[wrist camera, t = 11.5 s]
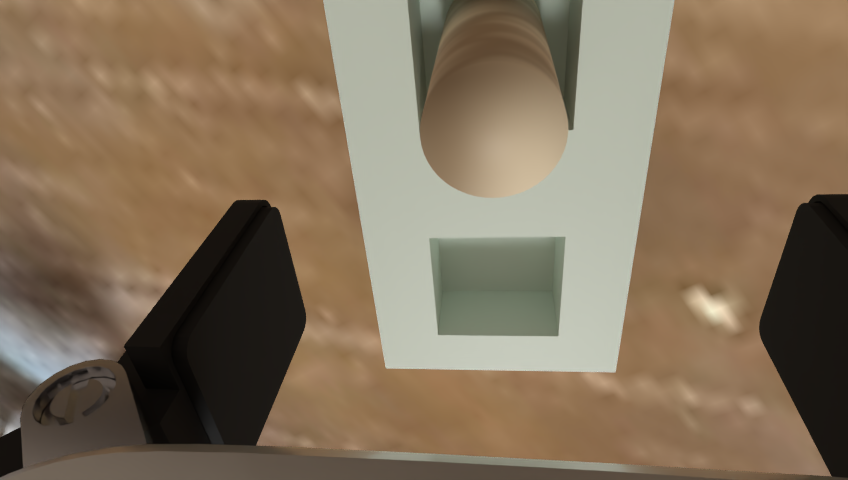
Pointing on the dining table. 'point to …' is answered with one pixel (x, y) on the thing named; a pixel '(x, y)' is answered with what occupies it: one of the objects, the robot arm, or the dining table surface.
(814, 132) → the dining table surface
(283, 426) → the dining table surface
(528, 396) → the dining table surface
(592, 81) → the hole block
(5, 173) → the dining table surface
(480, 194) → the pin
